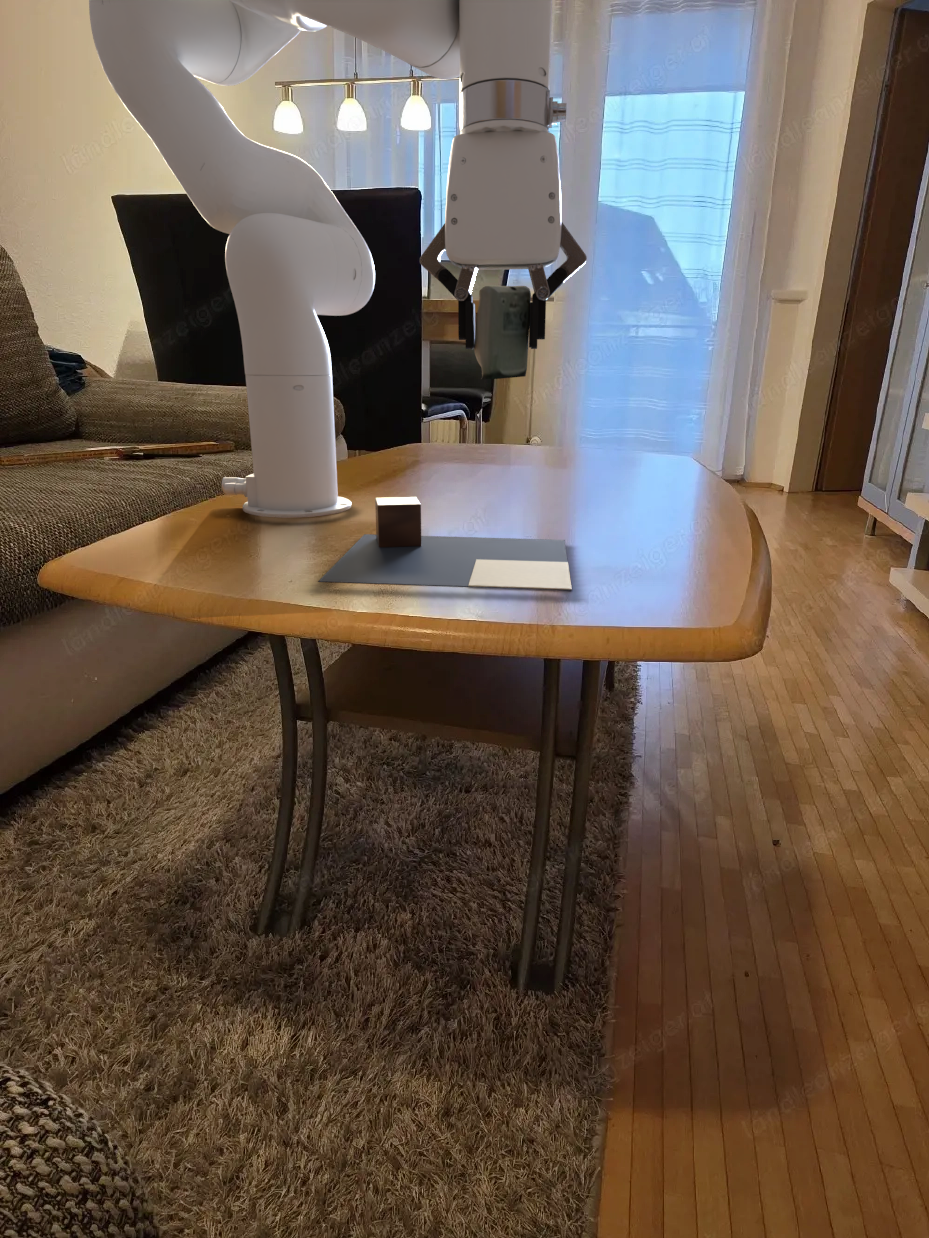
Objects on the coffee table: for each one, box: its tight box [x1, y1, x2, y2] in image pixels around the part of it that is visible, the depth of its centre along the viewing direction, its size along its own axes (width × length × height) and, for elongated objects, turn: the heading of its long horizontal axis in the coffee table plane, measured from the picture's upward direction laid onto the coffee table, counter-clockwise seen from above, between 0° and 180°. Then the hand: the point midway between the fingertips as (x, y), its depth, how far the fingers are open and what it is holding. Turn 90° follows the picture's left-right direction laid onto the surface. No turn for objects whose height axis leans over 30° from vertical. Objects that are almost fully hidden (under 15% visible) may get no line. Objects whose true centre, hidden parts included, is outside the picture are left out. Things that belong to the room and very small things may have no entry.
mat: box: [317, 533, 573, 591], centre depth 67 cm, size 20×17×1 cm
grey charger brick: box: [473, 285, 532, 380], centre depth 69 cm, size 6×5×8 cm
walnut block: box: [374, 496, 422, 547], centre depth 72 cm, size 4×4×4 cm
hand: (501, 346), depth 70 cm, fingers closed on grey charger brick, 5 cm apart
